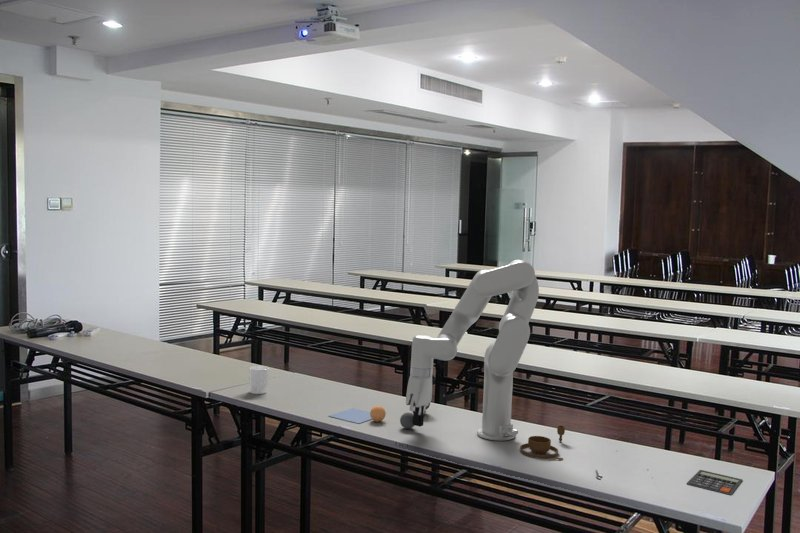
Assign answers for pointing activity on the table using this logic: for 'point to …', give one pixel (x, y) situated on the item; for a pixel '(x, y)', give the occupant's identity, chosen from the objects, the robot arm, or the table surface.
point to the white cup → (258, 379)
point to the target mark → (353, 415)
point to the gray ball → (407, 420)
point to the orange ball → (377, 413)
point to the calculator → (714, 482)
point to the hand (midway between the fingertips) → (417, 425)
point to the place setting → (542, 445)
